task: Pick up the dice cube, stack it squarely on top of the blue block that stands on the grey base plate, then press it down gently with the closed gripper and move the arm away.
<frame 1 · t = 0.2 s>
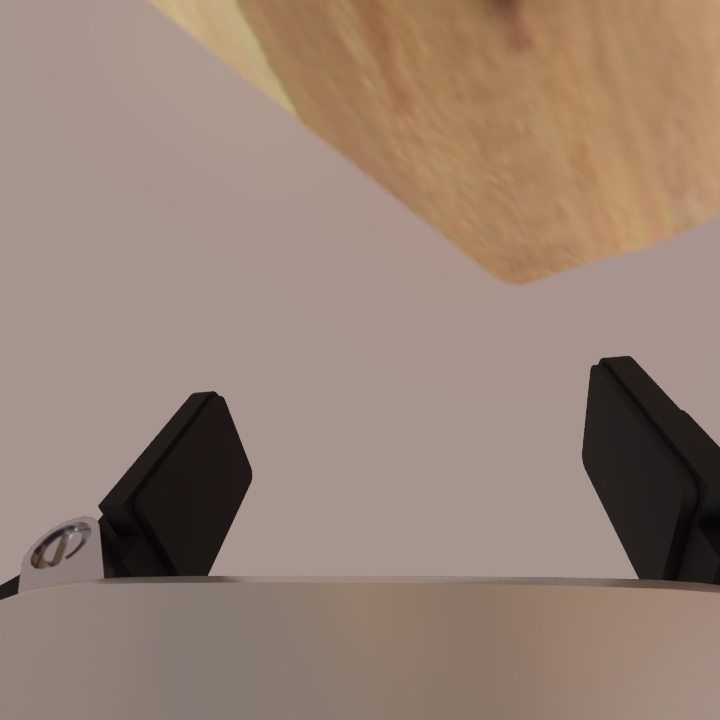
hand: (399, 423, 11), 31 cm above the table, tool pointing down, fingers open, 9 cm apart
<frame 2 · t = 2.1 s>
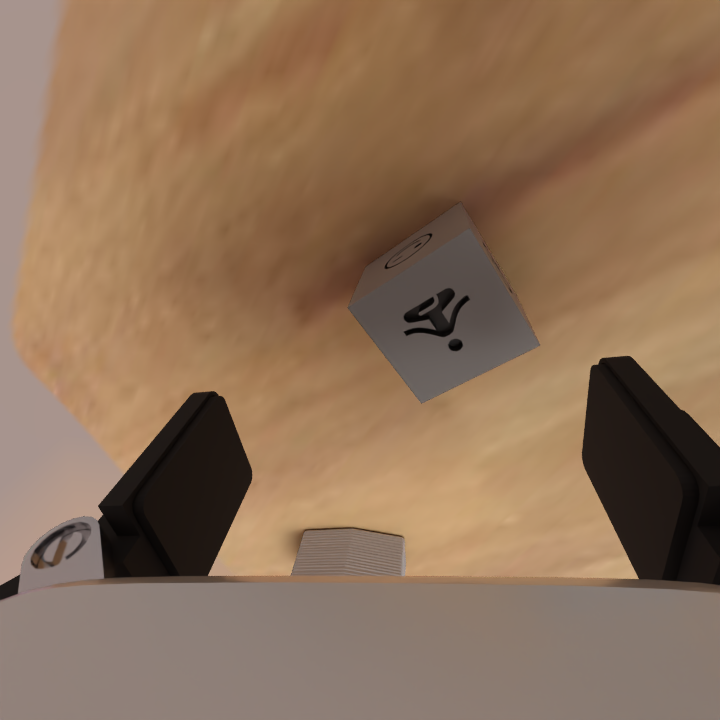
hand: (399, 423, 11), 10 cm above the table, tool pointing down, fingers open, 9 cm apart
dice cube: (440, 279, 20), on the table
padlock: (355, 542, 30), on the table
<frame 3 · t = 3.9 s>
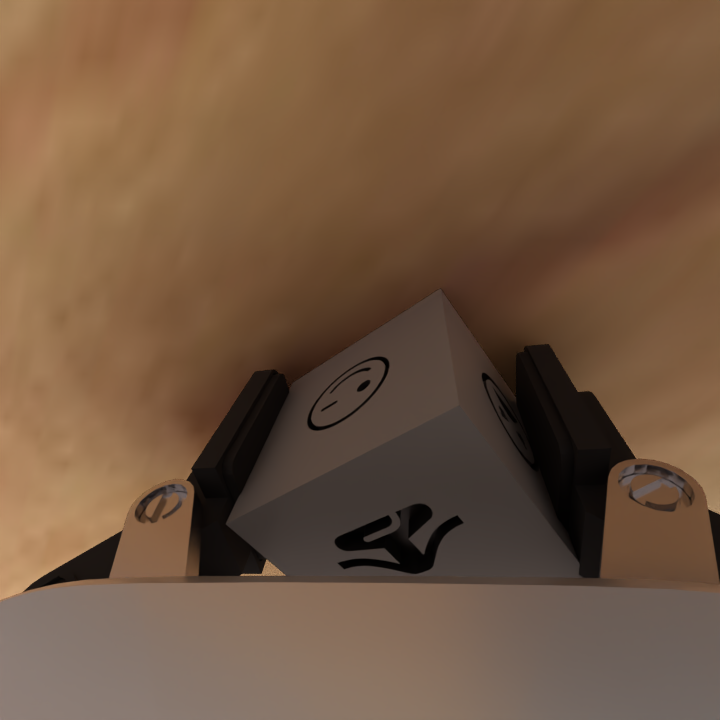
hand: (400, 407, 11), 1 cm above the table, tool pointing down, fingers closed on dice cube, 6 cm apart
dice cube: (412, 400, 12), on the table, touching gripper
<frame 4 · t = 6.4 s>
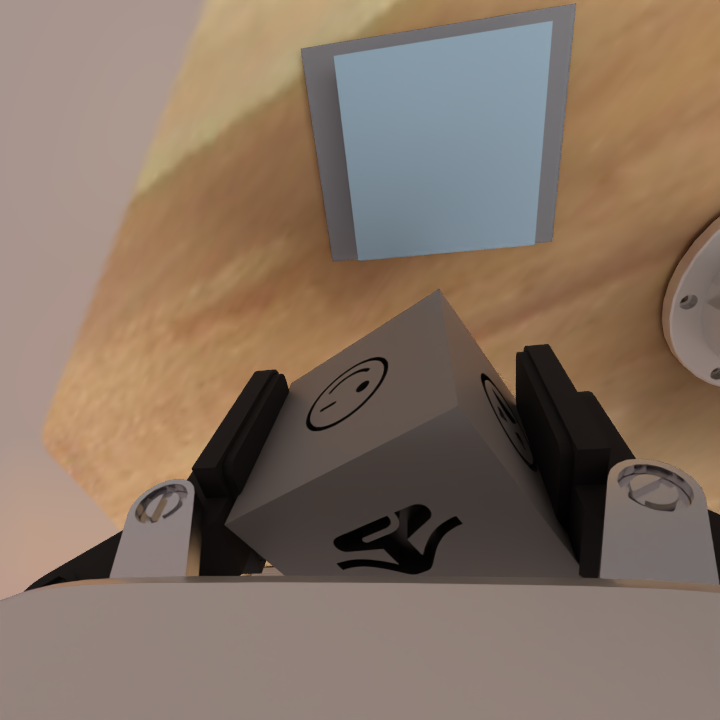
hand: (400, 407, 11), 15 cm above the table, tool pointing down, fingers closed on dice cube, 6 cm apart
dice cube: (411, 400, 12), point 14 cm above the table, touching gripper
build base: (434, 151, 22), on the table
when the fingers open (7 cm above the table, at t = 9.3 s): dice cube drops 1 cm, resting on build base.
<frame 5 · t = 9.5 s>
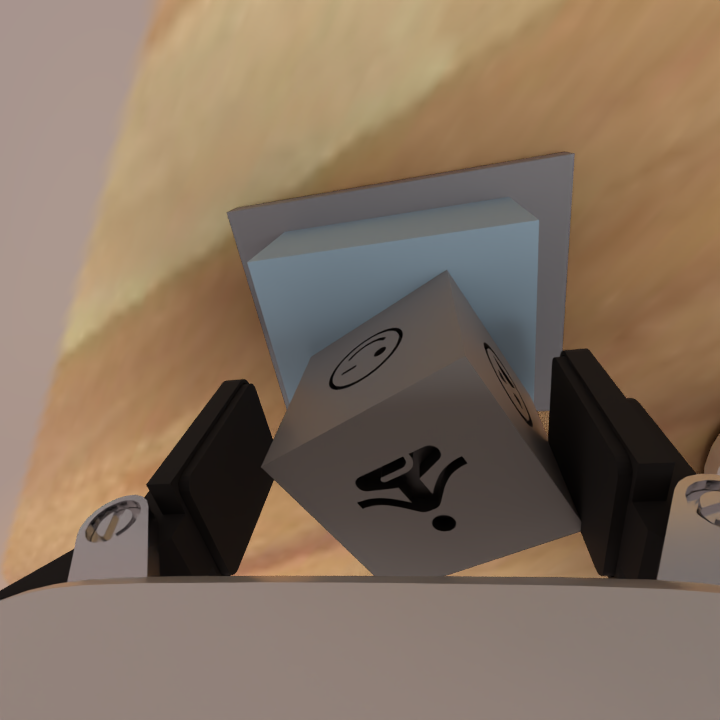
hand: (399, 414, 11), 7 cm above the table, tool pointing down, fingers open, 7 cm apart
dice cube: (419, 373, 14), point 5 cm above the table, touching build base
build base: (405, 308, 18), on the table
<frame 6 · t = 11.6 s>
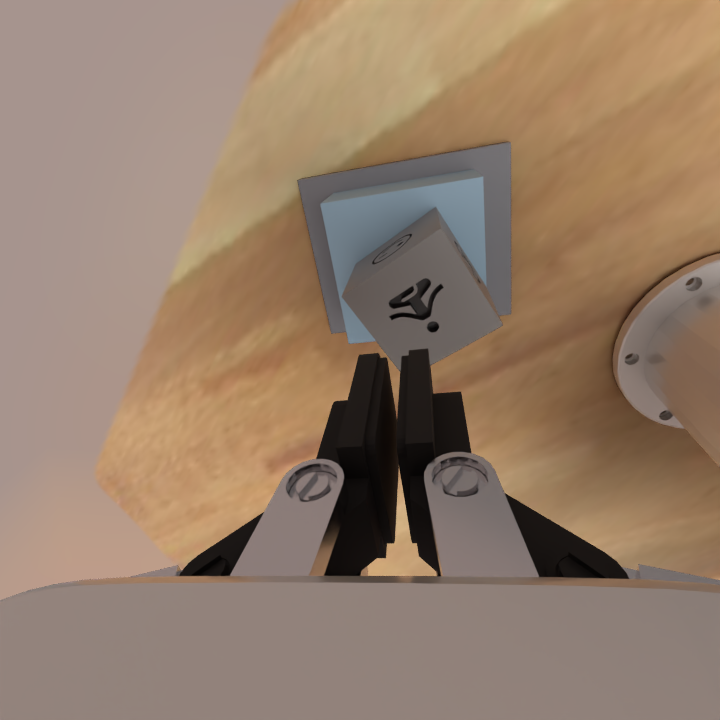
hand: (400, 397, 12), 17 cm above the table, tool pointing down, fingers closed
dice cube: (420, 274, 23), point 5 cm above the table, touching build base
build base: (409, 246, 27), on the table
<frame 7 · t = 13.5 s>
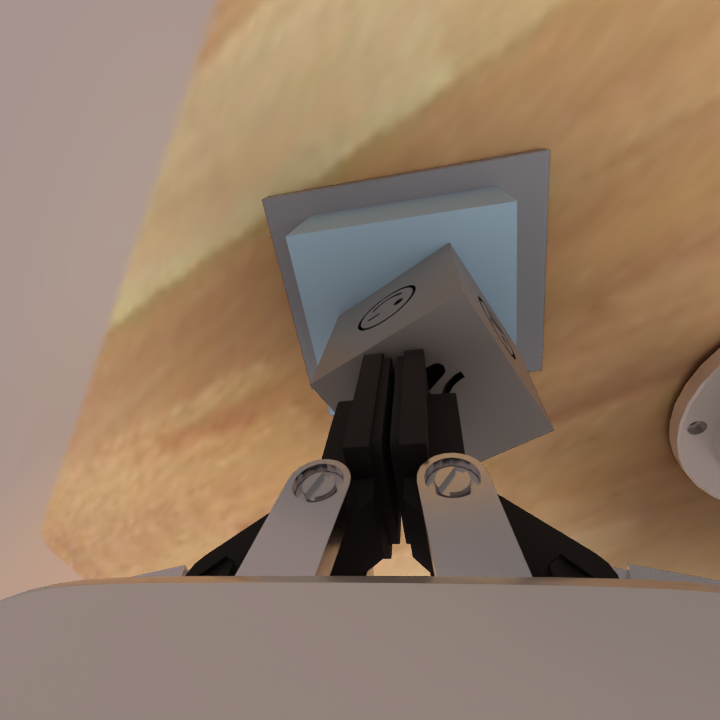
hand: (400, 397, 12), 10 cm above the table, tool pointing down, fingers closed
dice cube: (427, 330, 17), point 5 cm above the table, touching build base, gripper
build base: (410, 283, 21), on the table
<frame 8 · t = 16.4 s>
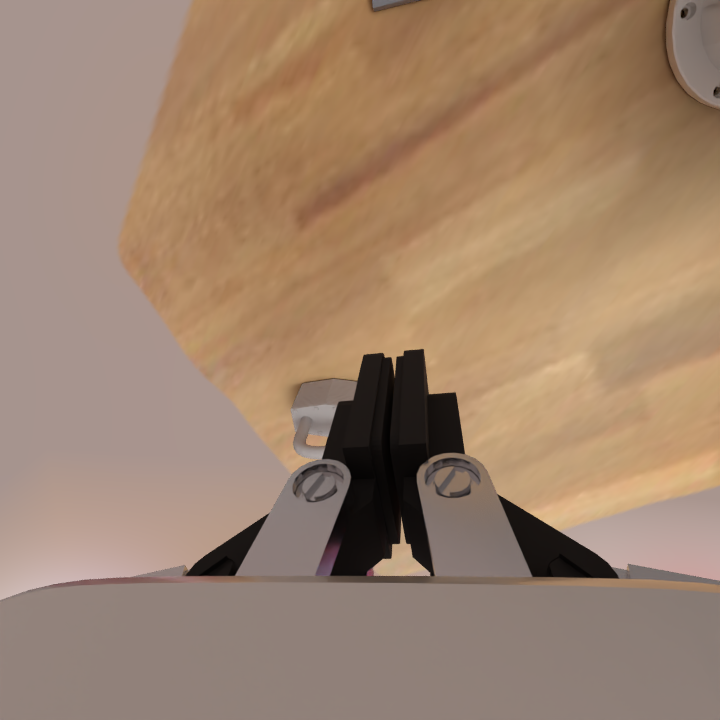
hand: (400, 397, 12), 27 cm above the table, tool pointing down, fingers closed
padlock: (336, 392, 45), on the table
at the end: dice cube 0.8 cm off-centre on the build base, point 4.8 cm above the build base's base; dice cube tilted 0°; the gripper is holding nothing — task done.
